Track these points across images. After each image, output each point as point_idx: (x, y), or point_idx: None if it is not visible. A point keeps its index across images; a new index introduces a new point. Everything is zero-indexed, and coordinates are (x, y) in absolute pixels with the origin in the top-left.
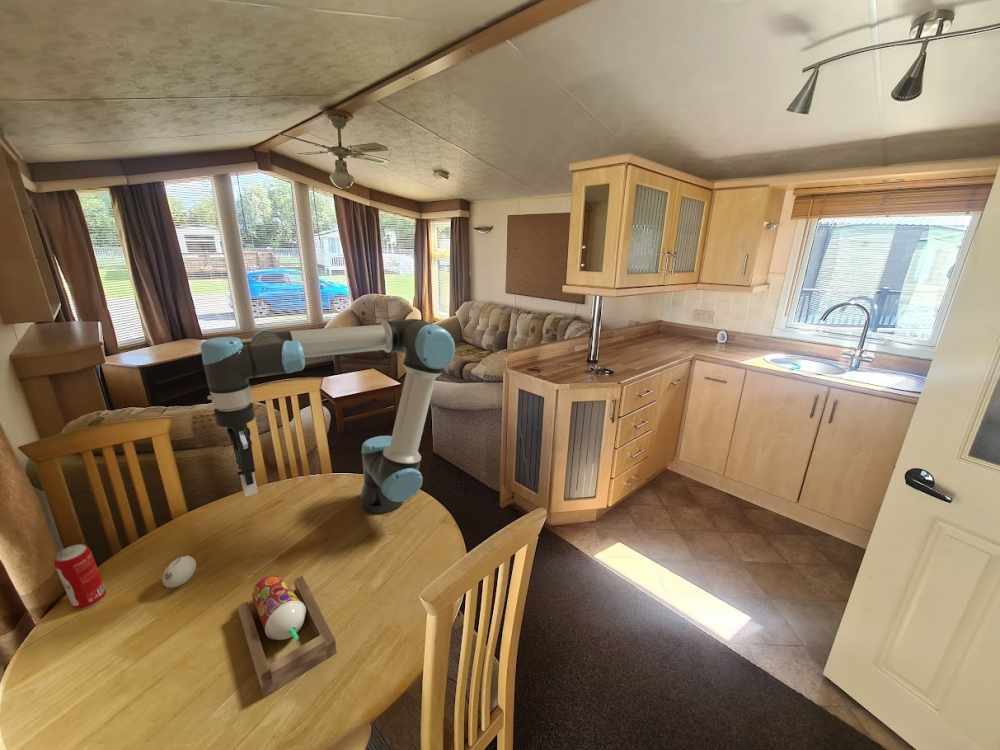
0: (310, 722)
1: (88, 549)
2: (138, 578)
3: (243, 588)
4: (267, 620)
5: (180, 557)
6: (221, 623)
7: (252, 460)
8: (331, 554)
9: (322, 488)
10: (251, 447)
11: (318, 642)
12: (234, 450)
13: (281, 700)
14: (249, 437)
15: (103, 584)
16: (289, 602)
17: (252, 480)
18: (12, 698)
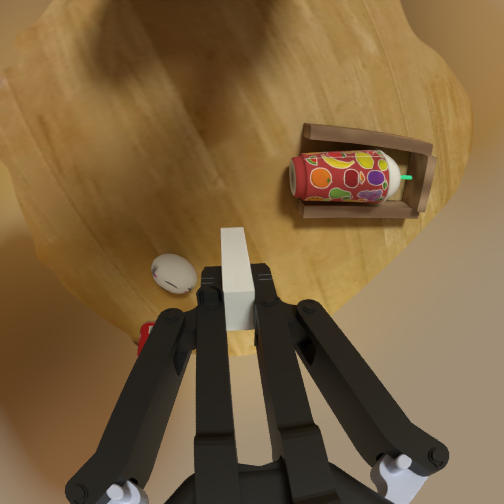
0: (447, 187)
1: None
2: (139, 298)
3: (242, 196)
4: (382, 202)
5: (159, 279)
6: (289, 228)
7: (360, 359)
8: (259, 60)
9: (45, 42)
10: (418, 428)
11: (433, 163)
12: (172, 405)
13: None
14: (333, 482)
15: (149, 330)
16: (391, 176)
17: (271, 276)
18: (249, 353)
